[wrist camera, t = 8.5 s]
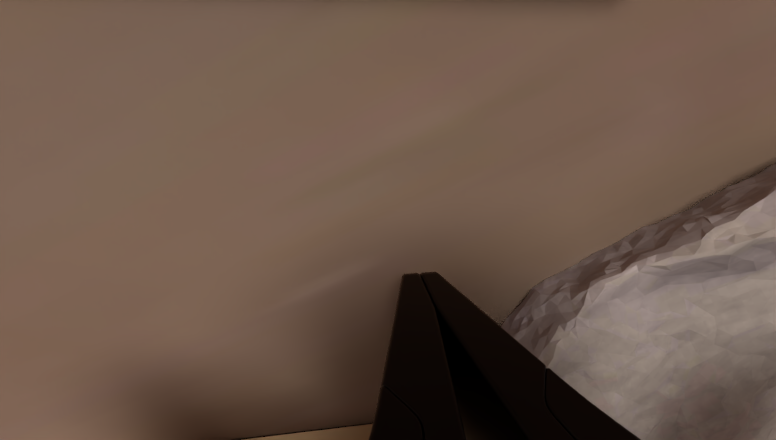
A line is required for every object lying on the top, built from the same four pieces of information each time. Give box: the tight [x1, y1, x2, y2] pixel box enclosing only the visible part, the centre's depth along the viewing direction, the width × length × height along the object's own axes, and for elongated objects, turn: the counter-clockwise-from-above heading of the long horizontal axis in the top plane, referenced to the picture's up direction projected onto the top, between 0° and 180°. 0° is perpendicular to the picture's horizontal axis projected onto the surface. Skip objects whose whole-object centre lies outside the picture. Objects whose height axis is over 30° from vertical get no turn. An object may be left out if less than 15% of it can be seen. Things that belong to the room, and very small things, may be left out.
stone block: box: [501, 163, 776, 440], centre depth 11 cm, size 12×5×10 cm
